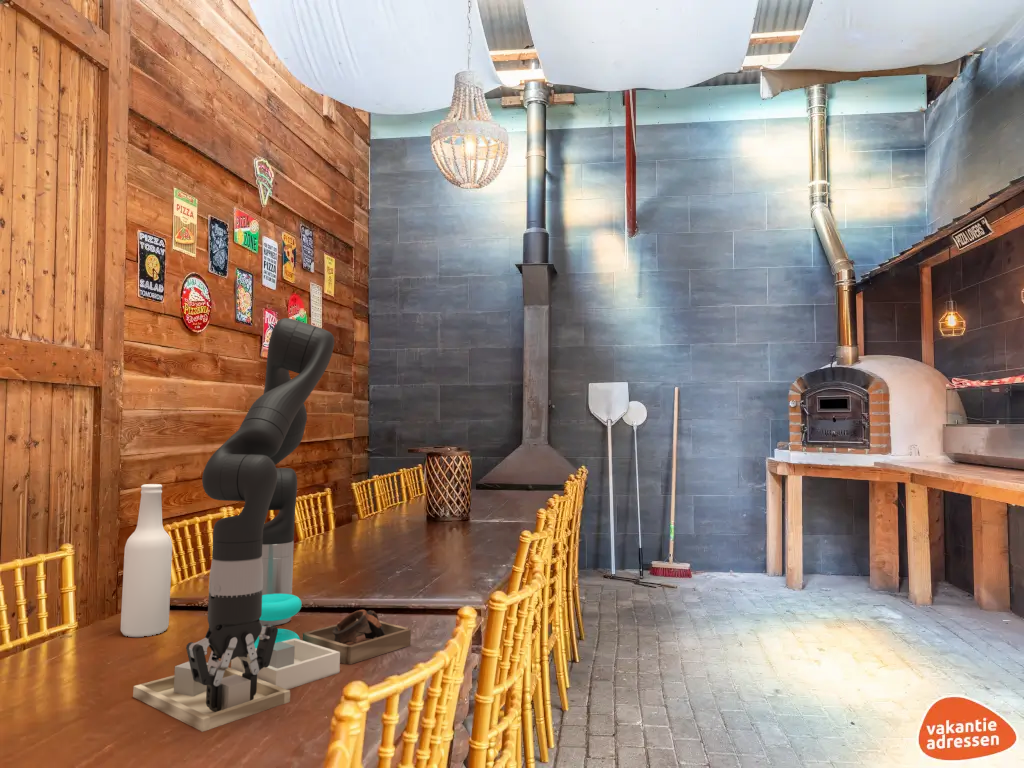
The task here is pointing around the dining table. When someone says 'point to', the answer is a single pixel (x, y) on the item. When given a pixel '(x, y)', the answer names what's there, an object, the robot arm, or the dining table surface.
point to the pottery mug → (358, 627)
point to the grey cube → (282, 655)
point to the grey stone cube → (187, 681)
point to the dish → (299, 665)
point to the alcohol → (147, 570)
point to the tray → (195, 707)
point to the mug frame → (363, 650)
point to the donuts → (280, 613)
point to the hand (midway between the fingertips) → (231, 704)
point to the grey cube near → (235, 691)
